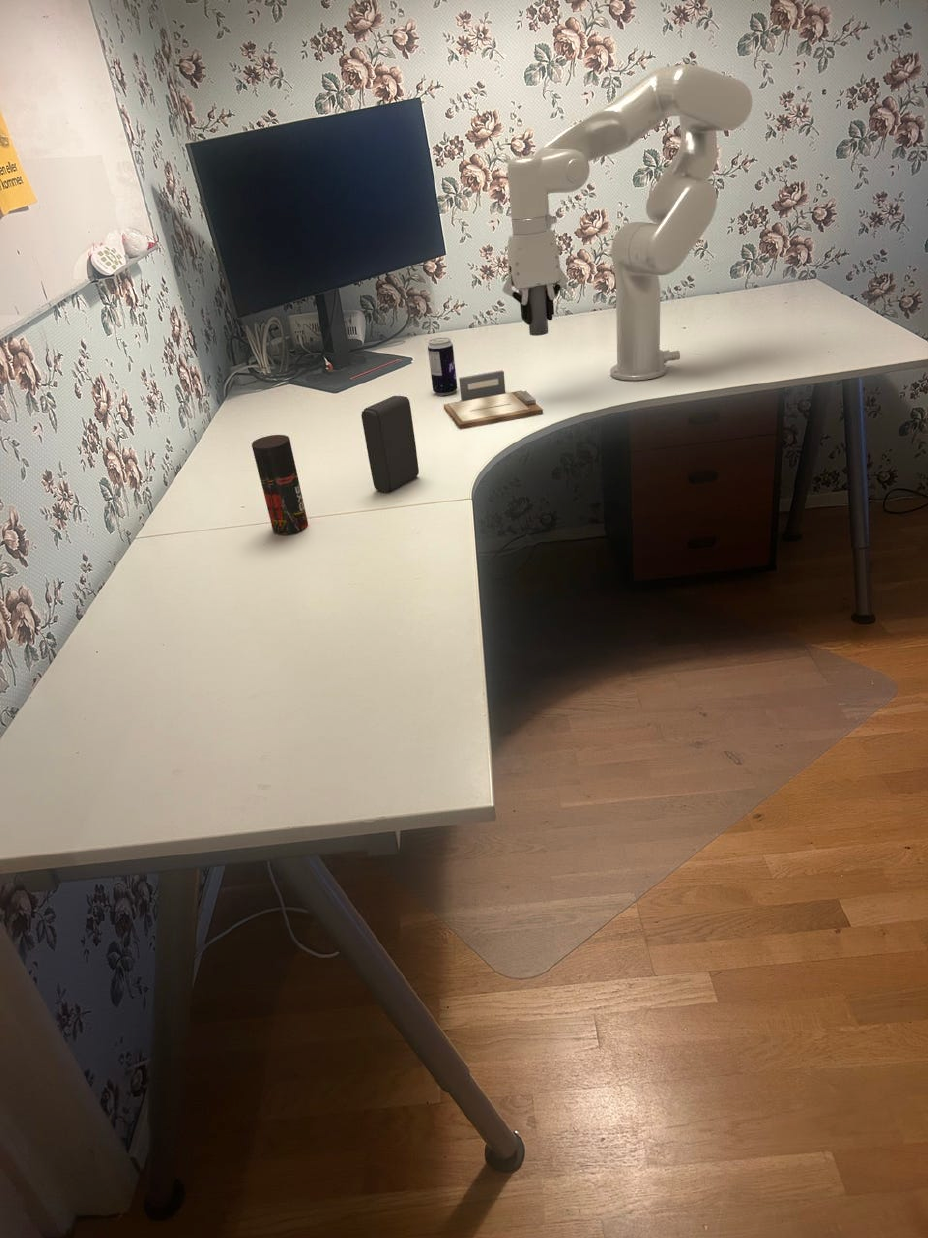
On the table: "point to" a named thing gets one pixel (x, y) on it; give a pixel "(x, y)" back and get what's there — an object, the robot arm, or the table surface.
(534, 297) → the marker
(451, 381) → the beverage can
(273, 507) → the deodorant
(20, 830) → the table surface
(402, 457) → the dark grey rounded block
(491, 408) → the clipboard
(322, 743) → the table surface
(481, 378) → the bar
